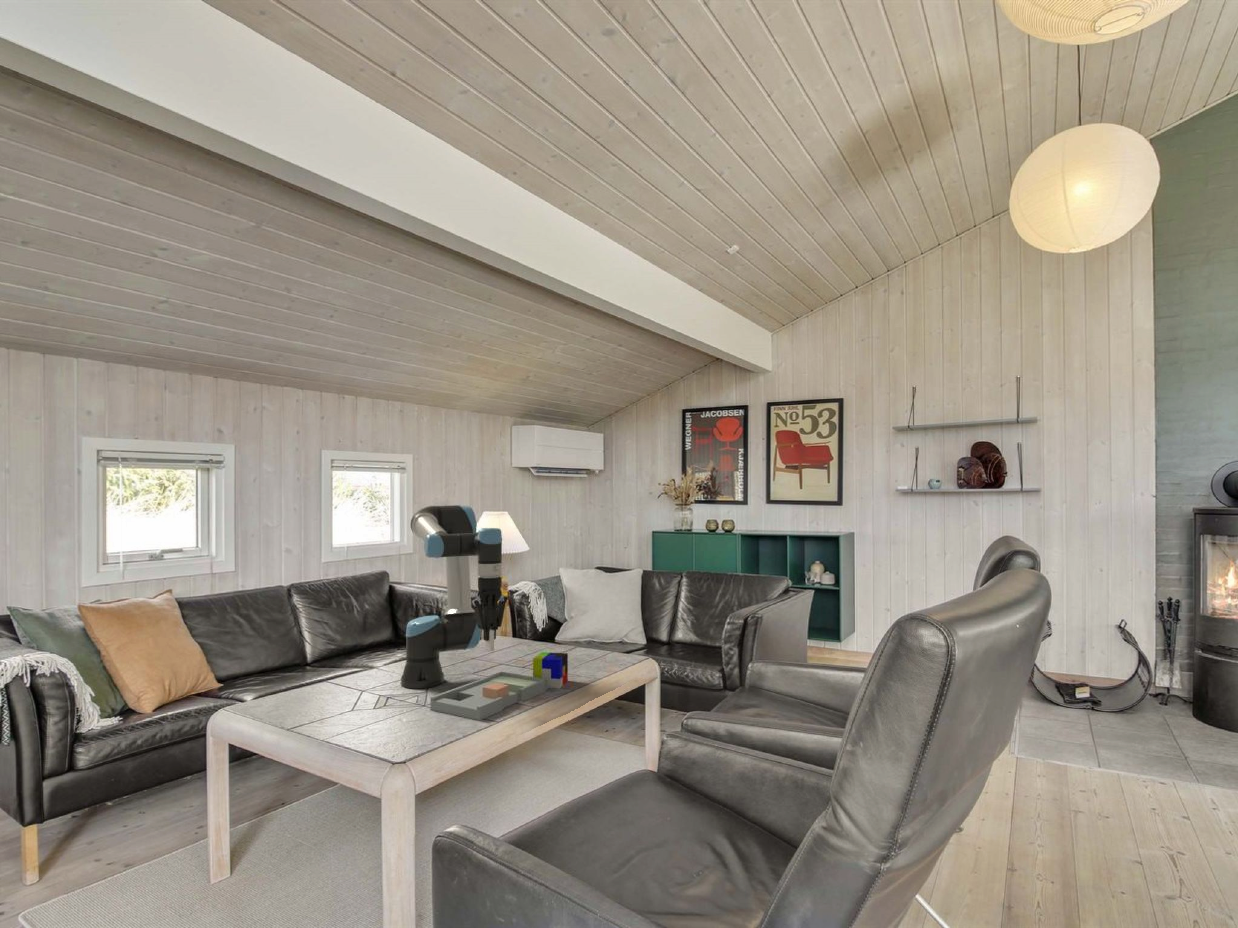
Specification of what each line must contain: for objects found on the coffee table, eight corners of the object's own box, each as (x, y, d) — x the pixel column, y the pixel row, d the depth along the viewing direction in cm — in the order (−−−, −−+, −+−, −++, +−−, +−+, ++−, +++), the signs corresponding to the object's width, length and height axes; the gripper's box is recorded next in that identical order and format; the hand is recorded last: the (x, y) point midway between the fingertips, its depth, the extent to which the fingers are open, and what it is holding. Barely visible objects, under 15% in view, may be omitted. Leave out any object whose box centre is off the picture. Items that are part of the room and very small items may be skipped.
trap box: (430, 709, 221) (430, 697, 221) (501, 682, 252) (501, 671, 252) (479, 720, 211) (479, 707, 211) (547, 690, 242) (547, 679, 242)
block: (482, 696, 225) (482, 687, 225) (494, 691, 230) (494, 682, 231) (496, 699, 222) (497, 689, 222) (508, 694, 227) (508, 685, 228)
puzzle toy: (559, 688, 245) (559, 659, 245) (532, 686, 247) (532, 658, 247) (567, 680, 254) (567, 653, 255) (541, 679, 256) (541, 651, 257)
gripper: (479, 579, 216) (479, 655, 215) (513, 575, 225) (513, 648, 224) (465, 577, 221) (465, 651, 220) (499, 573, 230) (499, 645, 229)
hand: (489, 650), depth 222 cm, fingers closed
